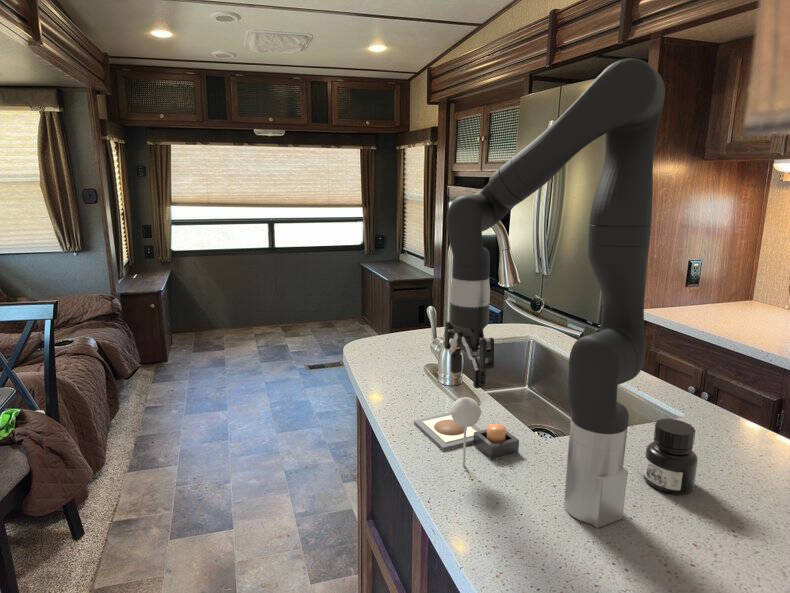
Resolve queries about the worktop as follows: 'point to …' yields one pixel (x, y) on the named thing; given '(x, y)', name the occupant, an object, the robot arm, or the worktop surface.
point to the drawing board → (446, 431)
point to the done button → (496, 433)
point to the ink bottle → (671, 457)
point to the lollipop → (465, 415)
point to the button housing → (496, 445)
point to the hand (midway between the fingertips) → (466, 379)
